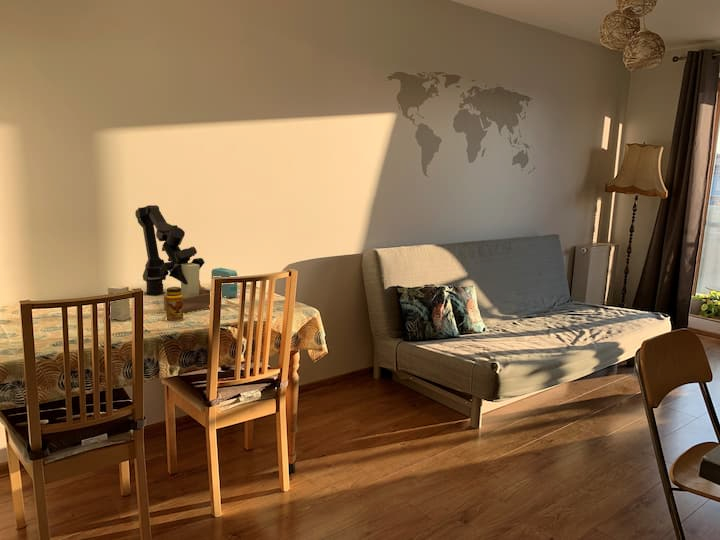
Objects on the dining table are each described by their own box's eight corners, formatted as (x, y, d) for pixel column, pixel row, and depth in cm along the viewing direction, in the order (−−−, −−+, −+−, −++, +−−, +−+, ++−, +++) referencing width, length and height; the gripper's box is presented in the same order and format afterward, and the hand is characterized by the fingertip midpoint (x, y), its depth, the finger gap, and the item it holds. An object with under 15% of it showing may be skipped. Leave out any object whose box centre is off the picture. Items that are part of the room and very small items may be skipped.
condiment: (176, 322, 217) (176, 290, 215) (157, 320, 219) (156, 288, 217) (188, 317, 224) (187, 287, 221) (169, 315, 226) (168, 285, 224)
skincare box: (130, 318, 220) (129, 286, 218) (122, 321, 216) (121, 288, 214) (116, 316, 222) (115, 284, 220) (108, 319, 218) (107, 286, 216)
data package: (237, 297, 260) (237, 270, 258) (229, 298, 257) (229, 272, 255) (219, 293, 267) (219, 267, 265) (211, 294, 263) (211, 268, 261)
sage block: (180, 298, 238) (181, 264, 235) (190, 296, 242) (191, 263, 239) (188, 300, 235) (189, 266, 232) (198, 298, 239) (199, 264, 236)
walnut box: (164, 310, 234) (163, 295, 233) (202, 302, 249) (202, 288, 248) (180, 314, 228) (180, 299, 227) (218, 306, 243) (218, 291, 242)
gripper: (163, 242, 229) (182, 274, 225) (201, 238, 244) (219, 268, 240) (151, 259, 235) (169, 291, 230) (189, 255, 250) (207, 284, 245)
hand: (192, 283), depth 236 cm, fingers closed on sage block, 5 cm apart
